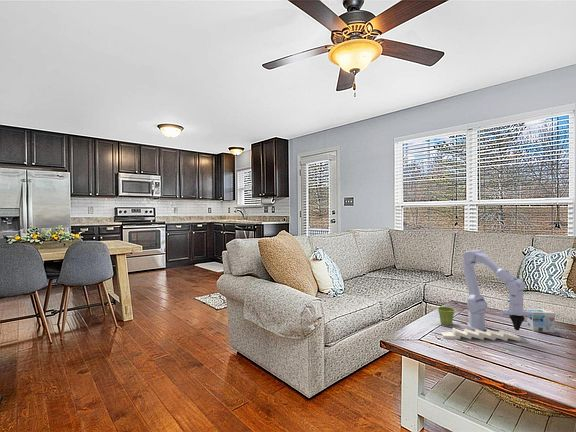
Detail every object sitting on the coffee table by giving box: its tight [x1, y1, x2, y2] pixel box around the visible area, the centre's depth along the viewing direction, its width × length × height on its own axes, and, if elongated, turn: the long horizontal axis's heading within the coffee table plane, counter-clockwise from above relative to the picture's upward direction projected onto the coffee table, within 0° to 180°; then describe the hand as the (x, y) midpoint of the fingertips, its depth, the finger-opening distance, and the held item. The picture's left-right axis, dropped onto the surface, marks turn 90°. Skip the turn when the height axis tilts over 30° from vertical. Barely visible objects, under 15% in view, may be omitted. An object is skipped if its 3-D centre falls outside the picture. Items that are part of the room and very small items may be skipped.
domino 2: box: [451, 327, 472, 339], centre depth 167 cm, size 2×5×8 cm
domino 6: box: [498, 329, 521, 342], centre depth 163 cm, size 2×5×8 cm
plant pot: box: [436, 306, 456, 326], centre depth 188 cm, size 9×9×9 cm
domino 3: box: [463, 328, 484, 340], centre depth 166 cm, size 2×5×8 cm
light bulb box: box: [526, 308, 556, 333], centre depth 175 cm, size 11×7×11 cm, turn 76°
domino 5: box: [485, 328, 508, 341], centre depth 164 cm, size 2×5×8 cm
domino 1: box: [440, 331, 460, 340], centre depth 168 cm, size 2×5×8 cm
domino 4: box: [474, 329, 496, 340], centre depth 165 cm, size 2×5×8 cm
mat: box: [456, 336, 531, 344], centre depth 165 cm, size 8×34×1 cm, turn 80°
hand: (516, 329), depth 162 cm, fingers closed
